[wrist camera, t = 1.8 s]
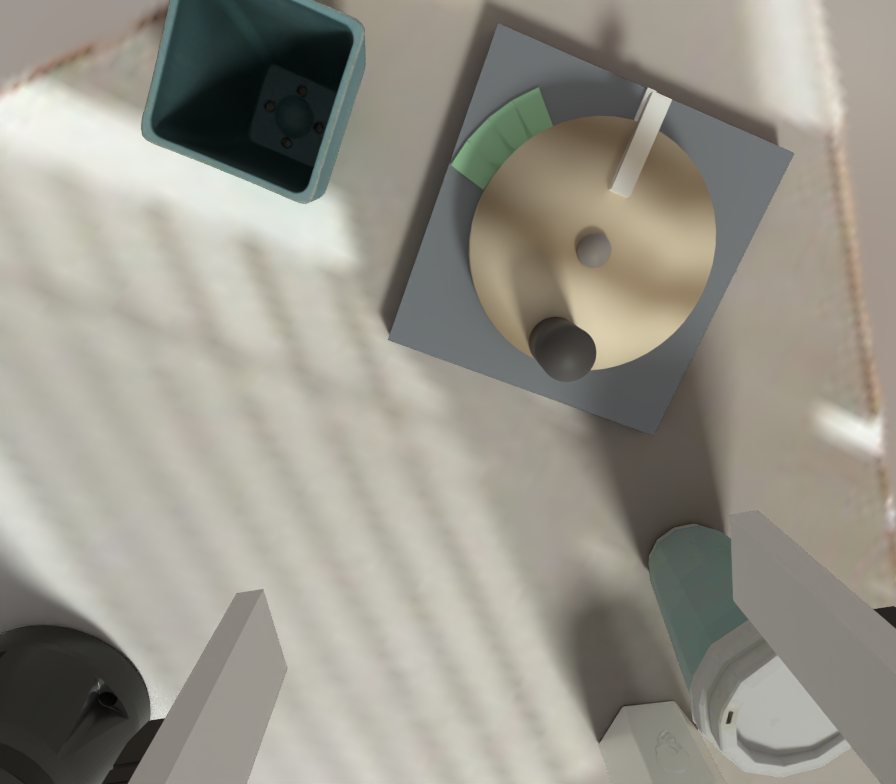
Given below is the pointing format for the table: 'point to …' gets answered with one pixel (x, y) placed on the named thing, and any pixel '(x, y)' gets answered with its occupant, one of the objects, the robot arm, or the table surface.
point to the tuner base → (483, 152)
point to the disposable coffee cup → (734, 663)
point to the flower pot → (257, 89)
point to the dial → (593, 242)
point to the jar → (657, 748)
